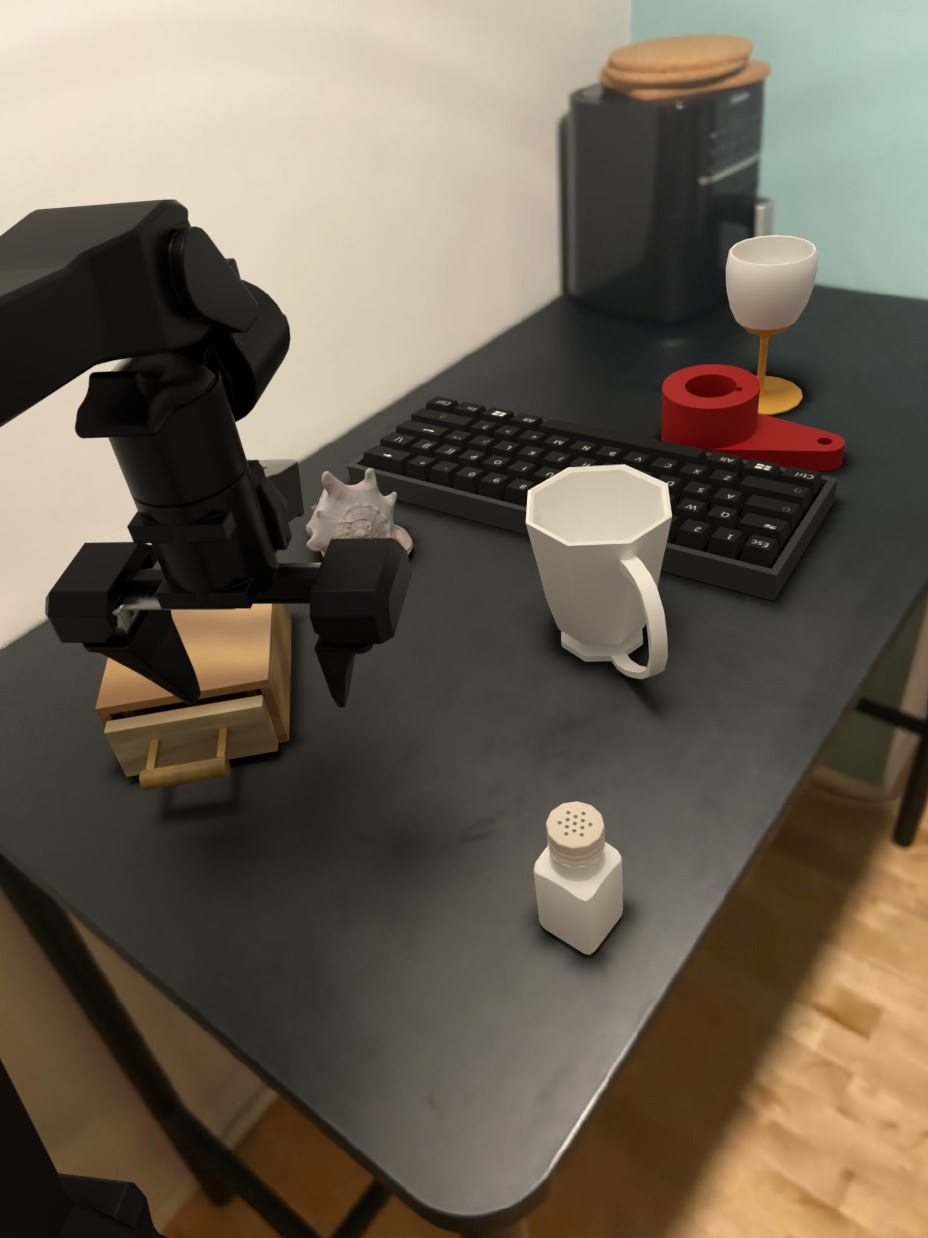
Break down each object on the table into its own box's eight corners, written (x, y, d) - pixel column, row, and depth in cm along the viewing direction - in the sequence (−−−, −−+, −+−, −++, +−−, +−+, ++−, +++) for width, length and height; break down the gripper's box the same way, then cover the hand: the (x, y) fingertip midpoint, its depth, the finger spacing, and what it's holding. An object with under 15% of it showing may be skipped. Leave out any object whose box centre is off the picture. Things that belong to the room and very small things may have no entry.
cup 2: (700, 392, 108) (707, 248, 98) (766, 370, 110) (779, 227, 100) (751, 424, 102) (764, 274, 91) (820, 399, 104) (840, 250, 94)
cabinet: (289, 741, 74) (268, 679, 69) (125, 769, 73) (94, 708, 69) (292, 622, 85) (274, 562, 81) (150, 646, 85) (125, 587, 80)
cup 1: (635, 577, 84) (634, 448, 76) (727, 696, 72) (739, 557, 64) (513, 613, 82) (500, 484, 74) (588, 741, 70) (581, 603, 62)
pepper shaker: (573, 882, 61) (565, 784, 55) (627, 914, 59) (625, 815, 53) (535, 928, 59) (524, 831, 53) (590, 962, 57) (584, 866, 51)
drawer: (276, 795, 68) (259, 749, 65) (117, 823, 68) (92, 778, 65) (282, 635, 82) (268, 592, 79) (149, 658, 82) (130, 615, 79)
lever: (648, 460, 99) (649, 401, 94) (678, 417, 105) (679, 359, 100) (831, 489, 91) (840, 426, 87) (851, 440, 97) (861, 379, 93)
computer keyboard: (833, 502, 89) (839, 466, 87) (774, 601, 79) (778, 563, 77) (436, 418, 111) (431, 387, 108) (352, 487, 101) (344, 455, 99)
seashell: (337, 600, 87) (315, 514, 81) (278, 545, 95) (253, 462, 89) (430, 553, 90) (415, 467, 84) (365, 503, 98) (347, 422, 93)
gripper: (406, 386, 51) (444, 611, 61) (84, 401, 54) (170, 612, 64) (361, 506, 43) (414, 743, 53) (-16, 514, 46) (101, 736, 56)
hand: (268, 700), depth 57 cm, fingers open, 9 cm apart
